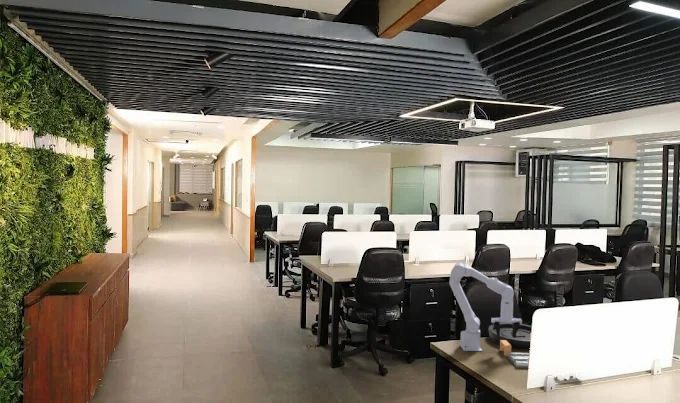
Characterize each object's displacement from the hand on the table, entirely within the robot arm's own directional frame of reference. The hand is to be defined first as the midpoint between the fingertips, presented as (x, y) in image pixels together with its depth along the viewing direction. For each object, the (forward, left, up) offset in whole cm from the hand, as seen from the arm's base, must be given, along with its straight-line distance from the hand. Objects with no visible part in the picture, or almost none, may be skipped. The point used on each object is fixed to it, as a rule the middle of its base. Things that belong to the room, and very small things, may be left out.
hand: (505, 337), depth 230 cm
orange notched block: (0, 0, -8) cm, 8 cm away
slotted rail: (+4, -12, -8) cm, 15 cm away
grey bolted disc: (+12, +18, -9) cm, 24 cm away
